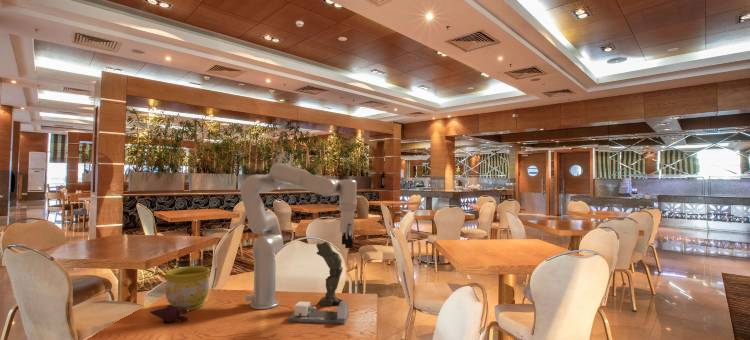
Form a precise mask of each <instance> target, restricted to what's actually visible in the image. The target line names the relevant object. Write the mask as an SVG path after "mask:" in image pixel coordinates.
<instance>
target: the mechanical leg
mask: <svg viewBox="0 0 750 340" xmlns="http://www.w3.org/2000/svg"><path fill="white" fill-rule="evenodd" d="M315 247H316V248H317V250H318V251H317V252H316V254H317V255H318V256H320V257H321V258H323V260H324V262H325V264H326V266H327V267H328V269H329V276H327V277H326V278H325V290H326V293H325V296H323V297H321V298H320V299H319V300H318V304H319V305H320V306H332V307H334V306H336V307H338V305H339V304H340V302H341V301H344V299H340V298H338V297H337V295H336V290H337V289H338V285H339V283H340V278H341V276H342V272H343V270H344V267H342V258H341V256H340V254H339V253H338V252H336V251H334V250H333V248H332V246H331V244H330V242H329V241H327V240H325V241H324V242H317V243H316V246H315Z"/></svg>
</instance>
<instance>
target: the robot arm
mask: <svg viewBox="0 0 750 340" xmlns="http://www.w3.org/2000/svg"><path fill="white" fill-rule="evenodd" d="M269 169H270V170H269V173H266V174H257V173H256V174H252V175H249V176H248V177H246V178H245V179H244V180H243V182H242V184H241V186H240V191H239V192H240V197H241V201H242V204H243V207H244V211H245V214H246V219H247V221H248V225H249V229H250V230H251V232H252V233H254V234H257V235H258V234H261V236H260V237H257V239H255V240H254V242H253V244H252V256H253V265H254V266H253V294H252V295H250V294H246V295H245V301H247V302H248V301H251V302H250V304H249V306H250V308H251V309H256V310H268V309H273V308H275V307H278V305H279V304H280V303H279V299H276V277H277V276H276V272H277V271H276V269H277V268H276V266H277V264H276V257H275V254H277V253H279V252H280V251H281V250H282V249H283V247H284V238H283V234H282V230H281V226H280V223H279V220H278V218H277V216H276V215H275V214H274V213H272V212H270V211H266V209H265V205H264V202H263V200H262V198H261V196H260V194H262V193H269V192H273V191H274V190H276V189H278V188H280V187H282V186H283V185H285V184H286V185H289V186H293V187H297V188H299V189H301V190H305V191H307V192H311V193H314V194H317V195H321V196H323V197H324V196H325V197H330V196H339V197H338V198H339V201H338V202H339V207H338V208H339V209H338V211H340V219H339V220H340V222H339V232H340V233H341V245H344V247H345V249H353V247H354V246H353V245H354V244H353V243H354V242H353V240H354V238H353V237H354V236H353V234H354V231H355V212H357V192H358V191H357V189H358V188H357V186H358V185H357V184H358V183H357V181H356V180H355V179H336V178H327V177H323V176H320V175H315V174H312V173H310V172H309V171H308V170H306V169H304V168H303V169H302V168H300V167H296V166H292V165H291V164H289V163H282V162H277V163H274V164H273V165H272V166H271V167H270V168H269Z"/></svg>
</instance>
